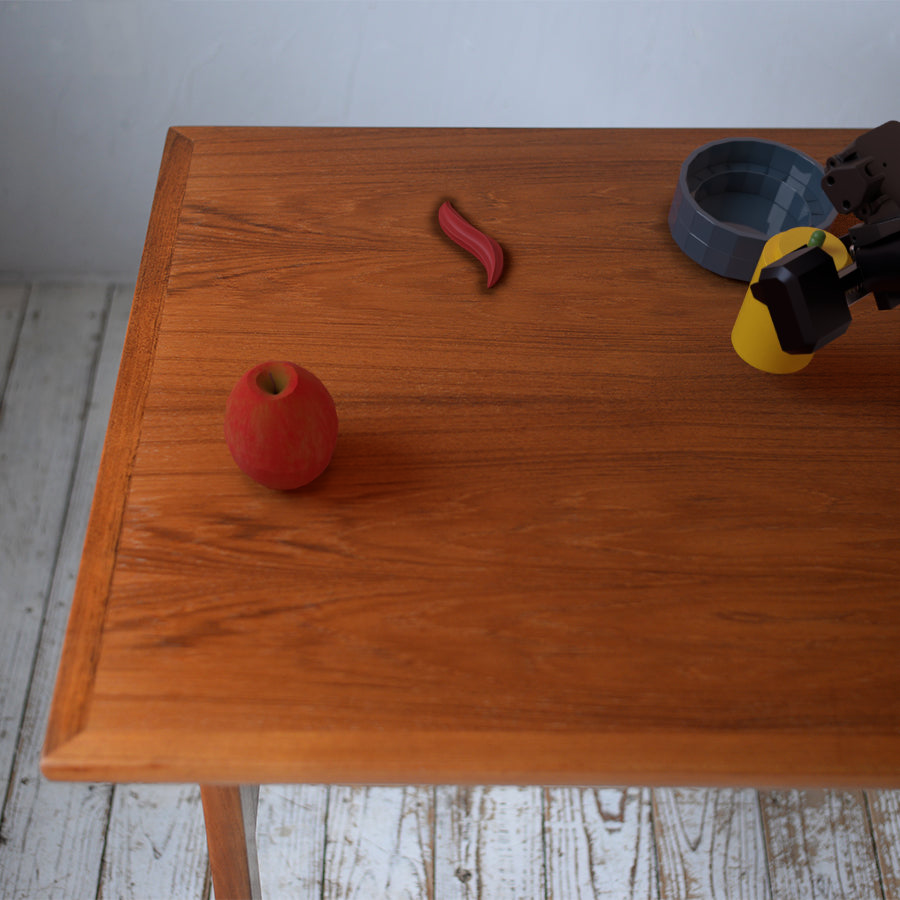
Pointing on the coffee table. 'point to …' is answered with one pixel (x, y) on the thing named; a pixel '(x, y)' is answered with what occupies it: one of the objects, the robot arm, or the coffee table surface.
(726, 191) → the bowl
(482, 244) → the cayenne pepper
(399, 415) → the coffee table surface
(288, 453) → the apple
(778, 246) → the pepper
